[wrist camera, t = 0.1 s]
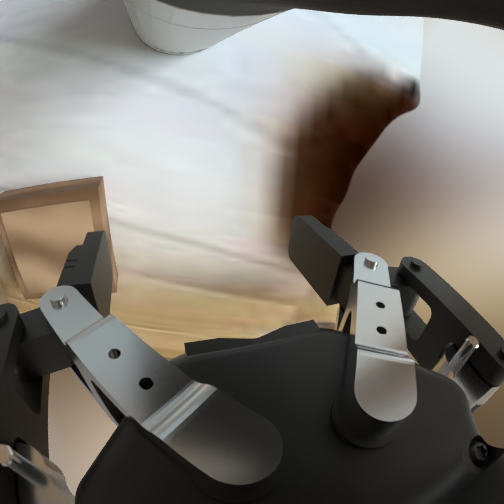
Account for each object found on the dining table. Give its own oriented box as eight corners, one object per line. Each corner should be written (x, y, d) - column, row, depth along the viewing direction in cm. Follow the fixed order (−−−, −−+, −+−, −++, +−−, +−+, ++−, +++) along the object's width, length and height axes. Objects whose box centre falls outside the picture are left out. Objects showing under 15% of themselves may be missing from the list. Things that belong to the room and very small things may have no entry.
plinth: (3, 192, 20) (-10, 205, 18) (103, 176, 24) (97, 188, 22) (31, 282, 27) (24, 300, 25) (117, 275, 31) (116, 293, 28)
